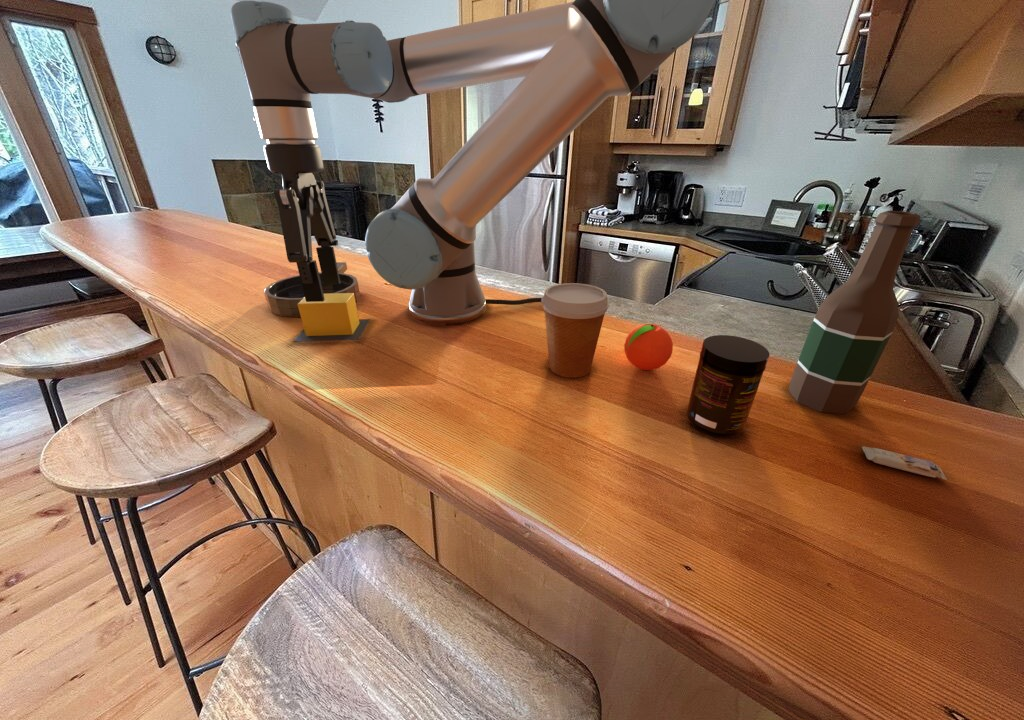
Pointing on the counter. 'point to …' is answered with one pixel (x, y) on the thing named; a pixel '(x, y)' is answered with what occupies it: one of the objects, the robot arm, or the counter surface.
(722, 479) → the counter surface
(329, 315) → the sponge
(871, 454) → the granola bar
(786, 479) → the counter surface
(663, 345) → the clementine
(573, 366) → the disposable coffee cup
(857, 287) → the beer bottle
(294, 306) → the pan
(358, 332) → the mat
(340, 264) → the pan handle
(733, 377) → the supplement container
